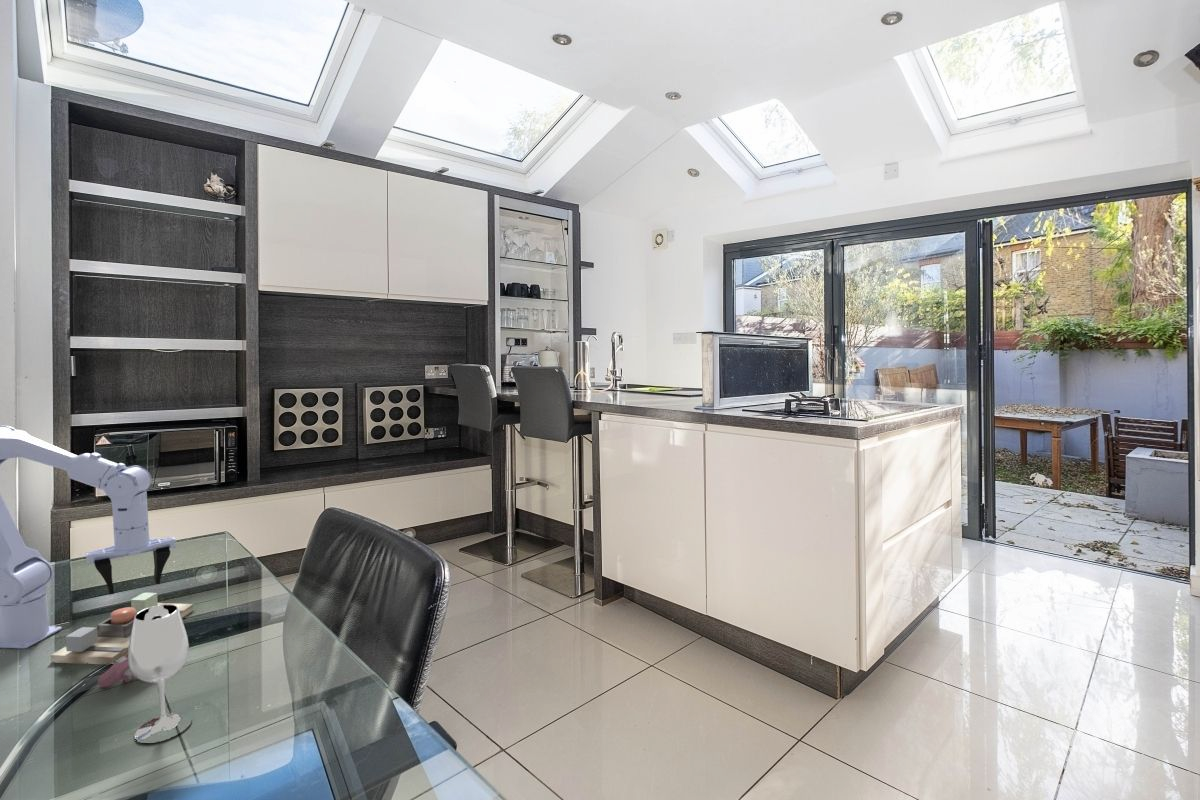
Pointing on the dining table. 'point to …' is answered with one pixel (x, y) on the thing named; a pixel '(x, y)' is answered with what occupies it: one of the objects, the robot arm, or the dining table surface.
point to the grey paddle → (81, 639)
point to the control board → (108, 642)
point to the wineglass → (157, 657)
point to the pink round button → (123, 615)
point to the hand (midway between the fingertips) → (134, 587)
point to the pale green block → (144, 601)
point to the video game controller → (116, 673)
